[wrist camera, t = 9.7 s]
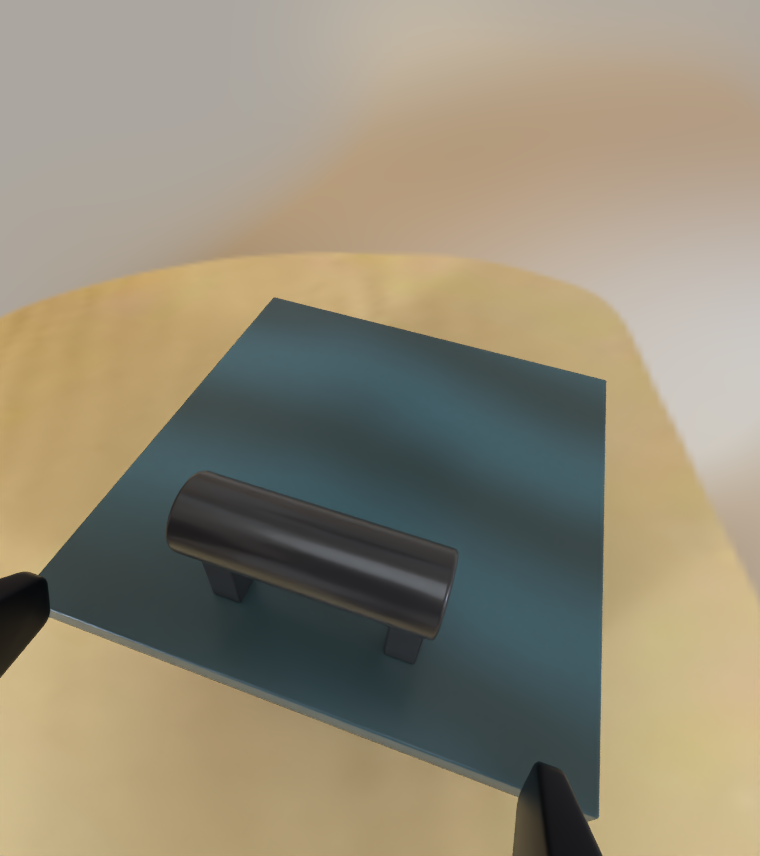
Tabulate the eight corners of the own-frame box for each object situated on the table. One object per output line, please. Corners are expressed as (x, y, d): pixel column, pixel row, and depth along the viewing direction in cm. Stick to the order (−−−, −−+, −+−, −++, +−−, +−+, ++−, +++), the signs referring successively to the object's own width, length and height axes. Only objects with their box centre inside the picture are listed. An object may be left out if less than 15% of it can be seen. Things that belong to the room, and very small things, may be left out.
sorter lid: (585, 823, 10) (709, 787, 7) (31, 611, 12) (-80, 503, 8) (598, 395, 18) (655, 287, 15) (275, 312, 20) (264, 201, 17)
